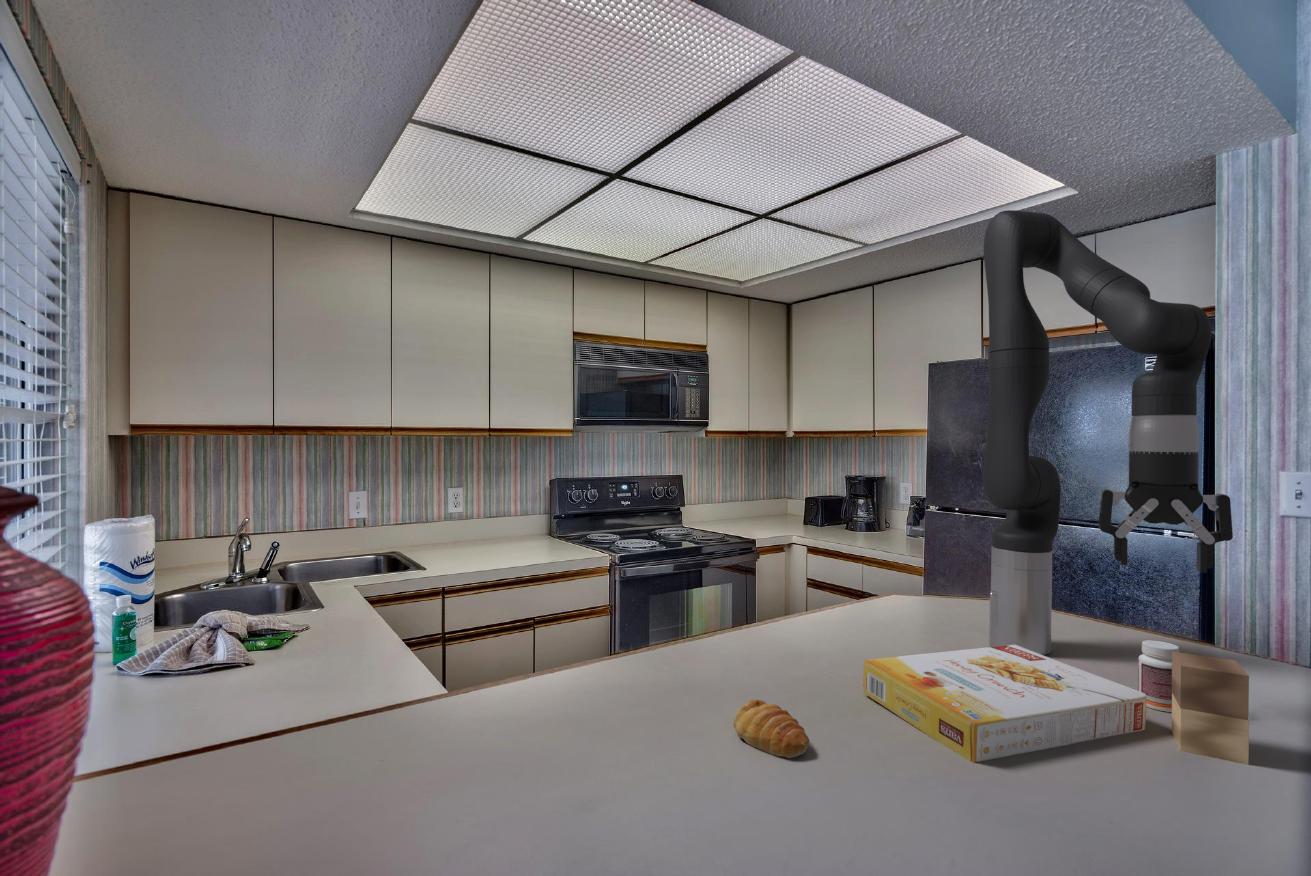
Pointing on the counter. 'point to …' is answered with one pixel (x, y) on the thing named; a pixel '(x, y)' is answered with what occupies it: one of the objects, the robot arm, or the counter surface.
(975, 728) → the cereal box
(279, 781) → the counter surface
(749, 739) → the pastry
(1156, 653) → the pill bottle
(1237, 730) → the maple block
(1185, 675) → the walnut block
